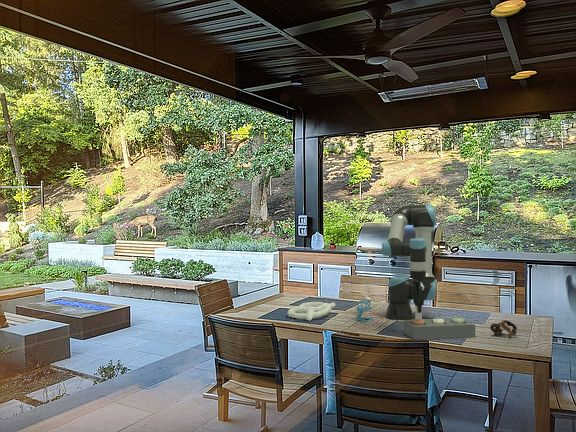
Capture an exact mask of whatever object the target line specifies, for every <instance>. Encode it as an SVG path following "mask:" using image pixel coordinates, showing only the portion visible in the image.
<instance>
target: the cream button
mask: <svg viewBox="0 0 576 432" xmlns="http://www.w3.org/2000/svg"><path fill="white" fill-rule="evenodd" d="M444 319H445V318H439V317H437V318H433V319H432V320H433V323H434V324H444Z"/></svg>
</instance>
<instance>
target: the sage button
mask: <svg viewBox="0 0 576 432" xmlns="http://www.w3.org/2000/svg"><path fill="white" fill-rule="evenodd" d="M452 319H453V323H464V320H465V319H464V318H462V317H453V318H452Z"/></svg>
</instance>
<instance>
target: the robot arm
mask: <svg viewBox="0 0 576 432" xmlns="http://www.w3.org/2000/svg"><path fill="white" fill-rule="evenodd" d="M436 218H437V217H436V211H435V207H434V206H433V205H431V204H430V205H429V204H419V205H417V204H416V205H403V206H401V207H399V208H398V209H396V210H395V211H394V212H392V214H391V217H390V220H389V222H390V229H389V233H388V237H387V240H386V241H382V243H381V253H382V255H383V256H384V257H409V264H408V265H409V269H410V271H409V276H408V275H407V276H406V275H403V276H395V277H391V278H390V279H389V280H388V286H387V287H388V306H387V309H386V313H385V317H386V319H389V320H395V321H396V320H397V321H398V320H399V321H407V320H413V318H414V317H415V319H422V320H423V306H425V301H434V300H435V298H436V294H437V287H438V280H437V279H435V275H434V274H433V271H432V266H433V265H432V262H433V260H432V231H433V230H434V229H435V226H437V219H436ZM407 226H412V229H413V230H414V231H415V238H410V239H409V241H403V239H404V234H405V229H406V227H407ZM411 300H412V302H413V304H414V307H415V308H414V310H415V311H414V312H413V310H412V307H411V303H410V301H411ZM414 314H415V315H414Z"/></svg>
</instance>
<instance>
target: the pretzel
mask: <svg viewBox="0 0 576 432" xmlns="http://www.w3.org/2000/svg"><path fill="white" fill-rule="evenodd" d="M335 307H336V303H335V302H331V303H329V302H323V301H310V302H309V301H307V302H303V303H302V302H301V304H299V305H298V306H297V305H296V306H295V307H293V308H292V307H291V308H288V310H287V317H288V316H289V317H288V318H290V317H292V318H291V319H293V318H299V319H298V320H306V321H307V320H309V321H310V320H312V321H313V319H318V318H321V317H323V316H327V315H329V313H330V312H331V311H332V309H334V308H335ZM312 318H313V319H312ZM309 321H308V322H309ZM310 322H311V321H310Z"/></svg>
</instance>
